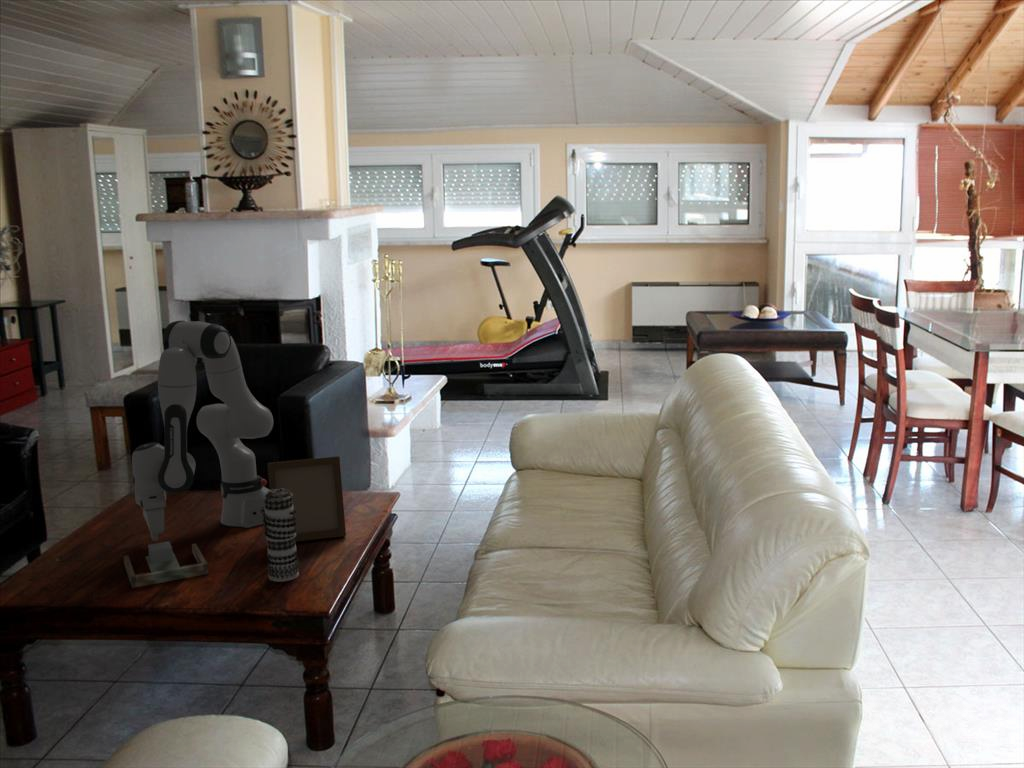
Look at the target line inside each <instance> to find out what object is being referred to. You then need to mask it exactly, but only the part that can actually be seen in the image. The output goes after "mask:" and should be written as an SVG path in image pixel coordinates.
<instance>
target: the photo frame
mask: <svg viewBox="0 0 1024 768" xmlns="http://www.w3.org/2000/svg"><path fill="white" fill-rule="evenodd" d="M340 459H341V458H340V456H339V455H337V456H329V457H317V458H307V459H306V458H305V459H296V460H294V459H293V460H284V461H275V462H274V461H273V462H267V463H266V464H267V475H268V476H267V477H268V487H269V488H268V489H269V490H272V489H277V488H284V489H287V490H289V492H290V493H292V494H293V496H292V504H293V509H295V510H296V513H294V514H293V516H295V517H296V520H294V521H295V522H296V525H295V526H294V528H295V529H296V536H295V543H296V542H304V541H315V540H320V539H321V540H322V539H330V538H339V537H340V538H341V537H345V536H347V532H346V520H345V509H344V508H345V507H344V506H345V505H344V497H343V495H344V494H343V485H342V474H341V473H342V472H341V460H340Z"/></svg>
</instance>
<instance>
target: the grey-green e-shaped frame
mask: <svg viewBox="0 0 1024 768" xmlns="http://www.w3.org/2000/svg"><path fill="white" fill-rule="evenodd" d="M191 550H192V555H193V557H194V559H195V560H196V563H190V564H186V565H182V566H180V564H179V562H178V559H177V557H176V555H175V553H174V552H173V561H167V562H161V563H156V564H152V563H151V561H150V558H149V555H147V556H145V560H146V562H147V566H148V568H149V570H150V571H148V572H141V573H136V574H135V571H134V568H133V566H132V563H131V560H130V556H129V555H124V556H123V562H124V567H125V570H126V573H127V574H126V575H127V577H128V579H129V584H130V586H131V589H135V588H140V587H141V588H142V587H145V586H150V585H151V586H152V585H156V584H160V583H162V584H163V583H166V582H173V581H177V580H182V579H188V578H194V577H199V576H203V575H208V574H209V567H208V562H207V561H206V559H205V557H204V555H203V554H202V552H201V550H200V548H199V546H198V545H197V543H191Z"/></svg>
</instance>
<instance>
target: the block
mask: <svg viewBox="0 0 1024 768" xmlns="http://www.w3.org/2000/svg"><path fill="white" fill-rule="evenodd" d="M147 548H148V556H149V558H150V561H151V563H152V564H156V563H161V562H167V561H173V553H174V551H173V547H172V545H171V542H170V541H164V542H158V543H152V544H147Z"/></svg>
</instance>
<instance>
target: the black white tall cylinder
mask: <svg viewBox="0 0 1024 768" xmlns="http://www.w3.org/2000/svg"><path fill="white" fill-rule="evenodd" d="M292 496H293V494H292V493H290V492H289V490H287V489H284V488H277V489H272V490H269V491H268V492H267V494H266V495H265V496H264V497H263V498H264V501H265V507H264V509H265V511H264V512H263V513H262V514H263V517H264V518H263V519H264V520H263V522H264V524H263V529H264V536H265V539H266V541H267V553H266V557H267V559H266V561H267V563H268V564H267V565H266V567H267V573H268V579H269V580H270V581H272V582H278V583H279V582H280V583H281V582H289V581H292V580H295V579H297V578H298V577H299V576H300V573H299V569H300V567H299V564H300V563H299V561H298V559H299V556H298V549H297V545H296V544H297V543H296V542H295V536H296V529H295V528H294V526H295V525H296V522H295V521H294V520H296V517H295V516H293V514H294V513H296V510H295V509H293V504H292ZM265 514H266V516H265ZM265 520H266V521H265Z"/></svg>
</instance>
